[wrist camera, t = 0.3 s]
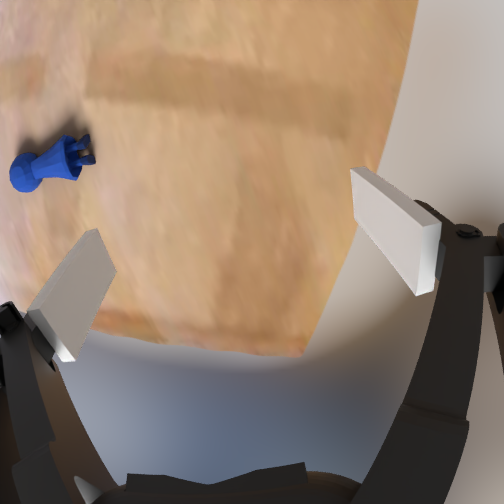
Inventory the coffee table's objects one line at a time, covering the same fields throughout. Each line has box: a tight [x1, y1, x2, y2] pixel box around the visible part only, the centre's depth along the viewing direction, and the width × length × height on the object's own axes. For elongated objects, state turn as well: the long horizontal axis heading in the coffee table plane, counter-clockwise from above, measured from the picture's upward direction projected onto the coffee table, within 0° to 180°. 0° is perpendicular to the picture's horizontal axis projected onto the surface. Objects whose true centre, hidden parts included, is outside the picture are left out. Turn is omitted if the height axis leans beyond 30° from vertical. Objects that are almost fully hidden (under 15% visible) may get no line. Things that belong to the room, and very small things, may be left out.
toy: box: [9, 134, 96, 192], centre depth 35 cm, size 7×6×15 cm
